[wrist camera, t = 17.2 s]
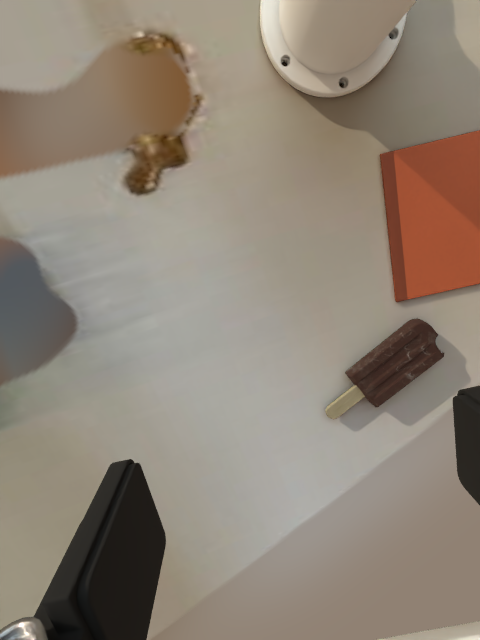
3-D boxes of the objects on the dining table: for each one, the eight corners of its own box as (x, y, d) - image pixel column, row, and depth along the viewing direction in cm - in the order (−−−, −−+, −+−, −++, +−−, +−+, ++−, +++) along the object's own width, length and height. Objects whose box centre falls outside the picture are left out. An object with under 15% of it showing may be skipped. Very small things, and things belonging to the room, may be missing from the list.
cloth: (379, 154, 34) (381, 153, 34) (504, 124, 34) (506, 123, 33) (395, 301, 38) (396, 302, 38) (506, 276, 38) (508, 277, 37)
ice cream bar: (339, 426, 42) (443, 346, 40) (343, 434, 41) (452, 351, 38) (311, 397, 41) (417, 313, 39) (314, 404, 40) (424, 317, 37)
